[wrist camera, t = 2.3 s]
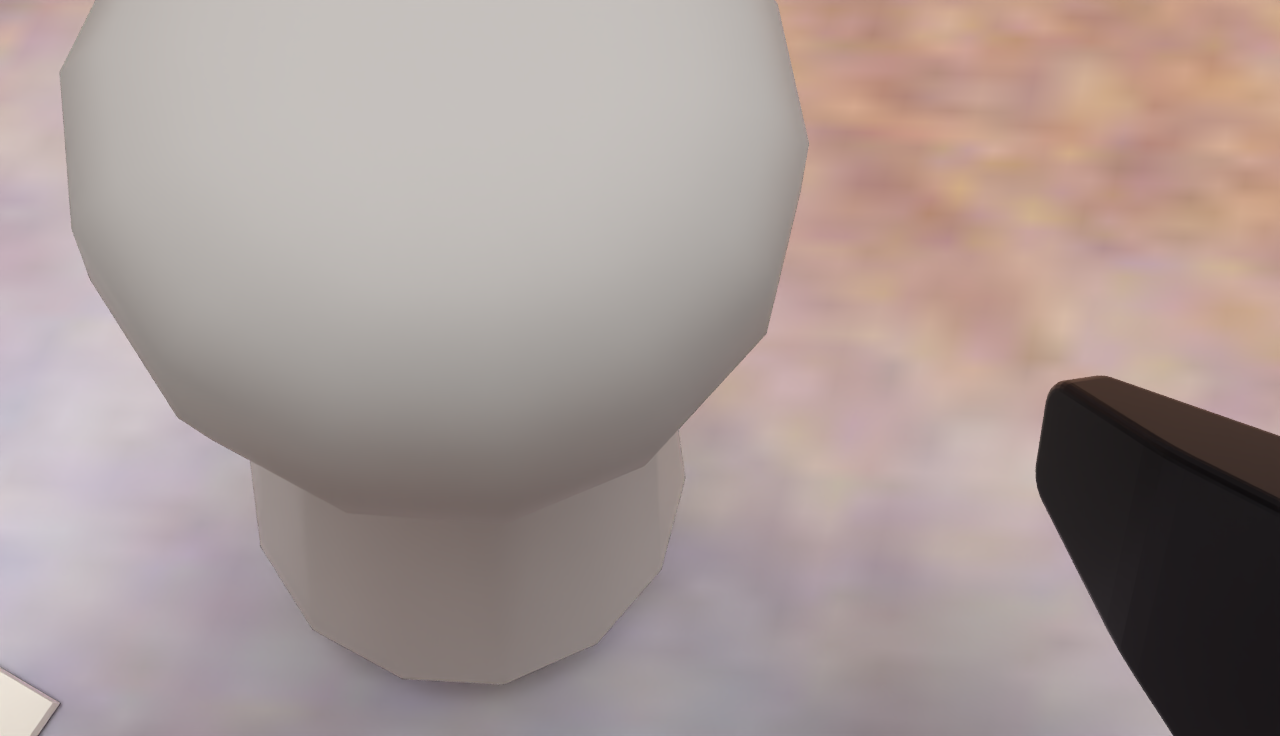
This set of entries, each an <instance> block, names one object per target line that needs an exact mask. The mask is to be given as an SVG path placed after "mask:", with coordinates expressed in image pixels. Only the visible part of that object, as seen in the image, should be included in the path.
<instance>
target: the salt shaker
mask: <svg viewBox="0 0 1280 736" xmlns="http://www.w3.org/2000/svg"><path fill="white" fill-rule="evenodd" d="M60 85H61V98H62V111H63V124H64V137H65V150H66V163H67V176H68V189H69V202H70V215H71V228H72V232H73V234H74V237H75V240H76V243H77V245H78V248H79V251H80V253H81V256H82V259H83V262H84V264H85V267H86V270H87V272H88V275H89V278H90V280H91V282H92V283H93V285H94V287H95V288H96V290H97V291H98V293H99V295H100V296H101V298H102V299H103V301H104V302H105V304H106V306H107V307H108V309H109V310H110V312H111V313H112V315H113V317H114V318H115V320H116V321H117V323H118V325H119V326H120V328H121V329H122V331H123V332H124V334H125V336H126V337H127V339H128V340H129V342H130V343H131V345H132V347H133V348H134V350H135V351H136V353H137V354H138V356H139V358H140V359H141V361H142V362H143V364H144V366H145V367H146V369H147V370H148V372H149V373H150V375H151V377H152V378H153V380H154V381H155V383H156V384H157V386H158V388H159V389H160V391H161V392H162V394H163V395H164V397H165V399H166V400H167V402H168V403H169V405H170V407H171V408H172V410H173V411H174V413H175V414H176V416H177V417H178V418H179V419H181V420H182V421H184V422H185V423H187V424H188V425H190V426H191V427H193V428H194V429H196V430H197V431H199V432H200V433H202V434H203V435H205V436H207V437H208V438H210V439H211V440H213V441H215V442H217V443H219V444H221V445H222V446H224V447H226V448H228V449H230V450H232V451H233V452H235V453H237V454H239V455H241V456H243V457H244V458H246V459H248V460H250V464H251V473H252V481H253V489H254V497H255V506H256V514H257V522H258V530H259V538H260V546H261V548H262V550H263V551H264V553H265V554H266V556H267V558H268V559H269V561H270V562H271V564H272V566H273V567H274V569H275V570H276V572H277V574H278V575H279V577H280V578H281V580H282V582H283V583H284V585H285V586H286V588H287V590H288V591H289V593H290V594H291V596H292V598H293V599H294V601H295V602H296V604H297V606H298V607H299V609H300V610H301V612H302V614H303V615H304V617H305V618H306V620H307V622H308V623H309V625H310V626H311V628H312V630H314V631H316V632H318V633H319V634H321V635H323V636H325V637H327V638H329V639H330V640H332V641H334V642H336V643H338V644H339V645H341V646H343V647H345V648H347V649H349V650H350V651H352V652H354V653H356V654H358V655H360V656H361V657H363V658H365V659H367V660H369V661H371V662H372V663H374V664H376V665H378V666H380V667H381V668H383V669H385V670H387V671H389V672H391V673H392V674H394V675H396V676H398V677H400V678H402V679H411V680H429V681H447V682H465V683H482V684H500V685H504V684H506V683H509V682H511V681H513V680H516V679H518V678H520V677H522V676H525V675H527V674H529V673H532V672H534V671H536V670H538V669H541V668H543V667H545V666H547V665H550V664H552V663H554V662H557V661H559V660H561V659H563V658H566V657H568V656H570V655H573V654H575V653H577V652H579V651H582V650H584V649H586V648H589V647H591V646H593V645H595V644H597V643H598V642H599V641H600V640H601V639H602V637H603V636H604V635H605V634H606V633H607V632H608V631H609V629H610V628H611V627H612V626H613V625H614V624H615V622H616V621H617V620H618V619H619V618H620V617H621V616H622V614H623V613H624V612H625V611H626V610H627V609H628V608H629V606H630V605H631V604H632V603H633V602H634V601H635V599H636V598H637V597H638V596H639V595H640V594H641V593H642V591H643V590H644V589H645V588H646V587H647V586H648V584H649V583H650V582H651V581H652V580H653V579H654V578H655V576H656V575H657V574H658V573H659V572H660V571H661V569H662V565H663V561H664V558H665V554H666V550H667V546H668V542H669V539H670V535H671V531H672V527H673V523H674V520H675V516H676V512H677V508H678V504H679V501H680V497H681V493H682V489H683V485H684V481H685V472H684V465H683V458H682V451H681V444H680V437H679V430H678V429H679V428H680V427H681V426H682V425H683V424H684V423H685V422H686V421H687V420H688V419H689V417H690V416H691V415H692V414H693V413H694V412H695V411H696V410H697V409H698V408H699V407H700V405H701V404H702V403H703V402H704V401H705V400H706V399H707V398H708V397H709V396H710V395H711V394H712V392H713V391H714V390H715V389H716V388H717V387H718V386H719V385H720V384H721V383H722V382H723V380H724V379H725V378H726V377H727V376H728V375H729V374H730V373H731V372H732V371H733V370H734V368H735V367H736V366H737V365H738V364H739V363H740V362H741V361H742V360H743V359H744V358H745V357H746V355H747V354H748V353H749V352H750V351H751V350H752V349H753V348H754V347H755V346H756V345H757V343H758V342H759V341H760V340H761V339H762V338H763V337H764V336H765V335H766V333H767V329H768V325H769V321H770V316H771V312H772V308H773V304H774V300H775V296H776V292H777V287H778V283H779V279H780V275H781V271H782V267H783V262H784V258H785V254H786V250H787V246H788V242H789V238H790V233H791V229H792V225H793V221H794V217H795V213H796V208H797V204H798V200H799V196H800V192H801V186H802V180H803V175H804V169H805V163H806V158H807V152H808V146H809V141H808V137H807V132H806V128H805V124H804V119H803V115H802V110H801V106H800V101H799V97H798V92H797V88H796V84H795V79H794V75H793V70H792V66H791V61H790V57H789V52H788V48H787V44H786V39H785V35H784V30H783V26H782V21H781V17H780V12H779V8H778V4H777V2H776V1H775V0H95V2H94V4H93V6H92V8H91V10H90V12H89V14H88V16H87V18H86V20H85V22H84V24H83V26H82V28H81V30H80V32H79V34H78V36H77V38H76V40H75V42H74V44H73V46H72V48H71V50H70V52H69V54H68V56H67V58H66V60H65V62H64V64H63V66H62V68H61V70H60Z"/></svg>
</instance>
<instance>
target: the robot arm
mask: <svg viewBox="0 0 1280 736" xmlns="http://www.w3.org/2000/svg"><path fill="white" fill-rule="evenodd" d="M1036 483H1037V488H1038V491H1039V494H1040V497H1041V499H1042V502H1043V504H1044V506H1045V508H1046V510H1047V512H1048V514H1049V516H1050V517H1051V519H1052V521H1053V523H1054V525H1055V527H1056V529H1057V531H1058V533H1059V535H1060V537H1061V539H1062V541H1063V543H1064V545H1065V547H1066V549H1067V551H1068V553H1069V555H1070V557H1071V559H1072V561H1073V563H1074V565H1075V567H1076V569H1077V571H1078V573H1079V575H1080V577H1081V579H1082V581H1083V583H1084V585H1085V587H1086V589H1087V591H1088V593H1089V595H1090V597H1091V599H1092V601H1093V603H1094V605H1095V607H1096V608H1097V610H1098V612H1099V614H1100V616H1101V618H1102V620H1103V622H1104V624H1105V626H1106V628H1107V630H1108V632H1109V634H1110V635H1111V637H1112V639H1113V641H1114V643H1115V644H1116V646H1117V648H1118V650H1119V652H1120V653H1121V655H1122V657H1123V658H1124V660H1125V661H1126V663H1127V665H1128V666H1129V668H1130V670H1131V671H1132V673H1133V674H1134V676H1135V678H1136V679H1137V681H1138V682H1139V684H1140V685H1141V687H1142V688H1143V690H1144V692H1145V693H1146V695H1147V696H1148V698H1149V699H1150V701H1151V702H1152V704H1153V705H1154V707H1155V708H1156V710H1157V711H1158V713H1159V715H1160V716H1161V718H1162V719H1163V721H1164V722H1165V724H1166V725H1167V727H1168V728H1169V730H1170V731H1171V733H1172V734H1173V736H1280V436H1278V435H1275V434H1272V433H1270V432H1267V431H1264V430H1261V429H1258V428H1255V427H1252V426H1249V425H1247V424H1244V423H1241V422H1238V421H1235V420H1232V419H1229V418H1226V417H1224V416H1221V415H1218V414H1215V413H1212V412H1209V411H1206V410H1203V409H1201V408H1198V407H1195V406H1192V405H1189V404H1186V403H1183V402H1180V401H1178V400H1175V399H1172V398H1169V397H1166V396H1163V395H1160V394H1158V393H1155V392H1152V391H1149V390H1146V389H1143V388H1140V387H1137V386H1135V385H1132V384H1129V383H1126V382H1123V381H1120V380H1117V379H1114V378H1112V377H1108V376H1092V377H1085V378H1078V379H1072V380H1065V381H1060V382H1058V383H1057V384H1056V385H1054V386H1053V387H1052V388H1051V390H1050V392H1049V394H1048V396H1047V400H1046V404H1045V411H1044V417H1043V423H1042V430H1041V436H1040V442H1039V449H1038V455H1037V461H1036Z"/></svg>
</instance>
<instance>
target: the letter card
mask: <svg viewBox="0 0 1280 736" xmlns="http://www.w3.org/2000/svg"><path fill="white" fill-rule="evenodd" d="M59 704H60V703H59V702H57V701H56V700H54V699H52V698H51V697H49V696H47V695H46V694H44V693H42V692H41V691H39V690H37V689H36V688H34V687H32V686H31V685H29V684H27V683H26V682H24V681H22V680H21V679H19V678H17V677H16V676H14V675H12V674H11V673H9V672H7V671H6V670H4V669H2V668H0V736H38V734H39V733H40V731H41V730H42V729H43V727H44V726H45V724H46V723H47V721H48V720H49V718H50V717H51V716H52V714H53V713H54V711H55V710H56V708H57V707H58V705H59Z"/></svg>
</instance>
